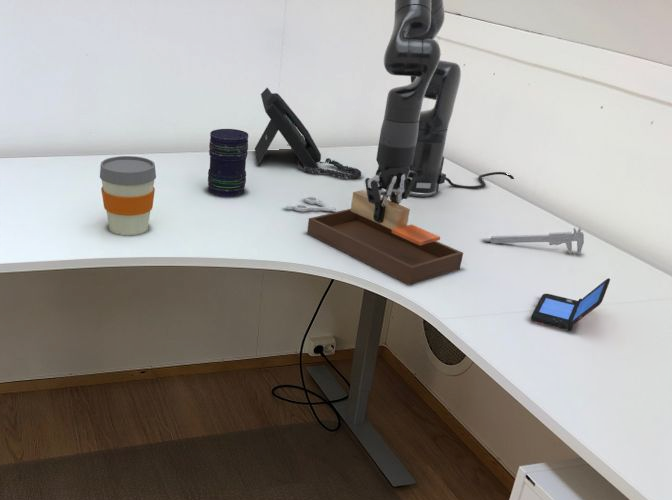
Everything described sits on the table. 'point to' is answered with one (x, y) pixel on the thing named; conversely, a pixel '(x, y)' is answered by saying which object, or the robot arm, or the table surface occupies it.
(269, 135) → the office phone
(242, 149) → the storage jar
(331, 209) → the scissors
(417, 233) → the tan and orange bar
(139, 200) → the reusable coffee cup
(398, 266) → the tray
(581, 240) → the caliper
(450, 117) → the robot arm
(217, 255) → the table surface
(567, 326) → the handheld console
